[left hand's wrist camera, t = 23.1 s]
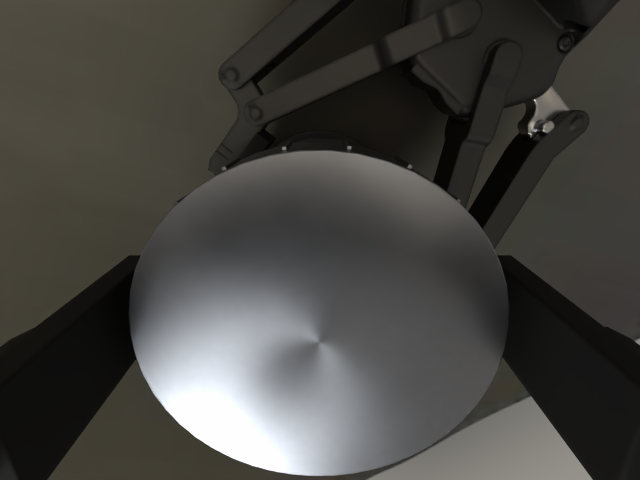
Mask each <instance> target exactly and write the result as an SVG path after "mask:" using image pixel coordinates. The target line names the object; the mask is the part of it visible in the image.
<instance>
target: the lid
mask: <svg viewBox="0 0 640 480" xmlns="http://www.w3.org/2000/svg"><path fill="white" fill-rule="evenodd" d="M222 170H223V171H222V172H220V173H218V174H217V175H215V176H214V177H212V178H211V179H209V180H208V181H206V182H204V183H203V184H201V185H200V186H198V187H197V188H195V189H194V190H192V191H191V192H190V193H189V194H188V195H186V196H184V197H183V198H181V199H180V200H178V201H177V202H176V203H175V204H174V205H175V206H174V207H173V208H172V209H171V210H170V212H169V213H168V214H167V215H166V216H165V218H164V219H163V220H162V221H161V222H160V223H159V225H158V226H157V227H156V229H155V230H154V232H153V234H152V235H151V237H150V239H149V240H148V242H147V244H146V245H145V247H144V249H143V251H142V254H141V256H140V259H139V261H138V264H137V266H136V268H135V272H134V277H133V281H132V285H131V289H130V299H129V312H128V315H129V327H130V336H131V341H132V345H133V349H134V353H135V357H136V359H137V362H138V364H139V367H140V369H141V372H142V374H143V376H144V378H145V380H146V382H147V383H148V385H149V387H150V389H151V390H152V392H153V394H154V395H155V396H156V398H157V399H158V400H159V402H160V403H161V404H162V406H163V407H164V408H165V410H166V411H167V412H168V413H169V414H170V415H171V416H172V417H173V418H174V419H175V420H176V421H177V422H178V423H179V424H180V425H181V426H183V427H184V428H185V429H186V430H187V431H189V432H190V433H191V434H192V435H194V436H195V437H196V438H198V439H199V440H201V441H202V442H204V443H205V444H207V445H208V446H210V447H212V448H213V449H215V450H217V451H219V452H221V453H223V454H225V455H227V456H229V457H231V458H233V459H236V460H239V461H241V462H244V463H246V464H249V465H252V466H256V467H259V468H263V469H266V470H270V471H275V472H281V473H287V474H294V475H307V476H334V475H343V474H352V473H358V472H363V471H367V470H372V469H376V468H379V467H382V466H386V465H389V464H392V463H395V462H397V461H400V460H402V459H404V458H407V457H409V456H412V455H414V454H415V453H417V452H419V451H421V450H423V449H425V448H426V447H428V446H430V445H432V444H433V443H435V442H436V441H437V440H439V439H440V438H442V437H443V436H445V435H446V434H447V433H449V432H450V431H451V430H452V429H453V428H454V427H455V426H457V425H458V424H459V423H460V422H461V421H462V420H463V419H464V418H465V417H466V416H467V415H468V414H469V413H470V412H471V410H472V409H473V408H474V407H475V406H476V405H477V403H478V402H479V401H480V399H481V398H482V396H483V395H484V393H485V392H486V390H487V389H488V388H489V386H490V384H491V382H492V380H493V378H494V376H495V374H496V372H497V370H498V368H499V365H500V362H501V359H502V356H503V353H504V350H505V346H506V340H507V335H508V330H509V300H508V292H507V284H506V281H505V277H504V274H503V270H502V267H501V263H500V261H499V259H498V257H497V254H496V252H495V250H494V248H493V246H492V244H491V242H490V240H489V238H488V237H487V236H486V234H485V233H484V231H483V230H482V228H481V227H480V225H479V224H478V222H477V221H476V220H475V219H474V217H473V216H472V215H471V214H470V213H469V212H468V211H467V210H466V209H465V208H464V207H463V206H462V205H461V203H460V202H461V201H460V200H459V199H458V198H457V197H455V196H453V195H452V194H450V193H449V192H447V191H446V190H444V189H443V188H441V187H440V186H439V185H437V184H436V183H434V182H432V181H431V180H429V179H428V178H426V177H425V176H423V175H421V174H420V173H418V172H417V171H415V170H414V169H412V165H410V164H409V163H407V162H405V161H404V160H402V159H401V158H399V157H397V156H395V158H392V157H390V156H387V155H385V154H382V153H380V152H377V151H375V150H372V149H368V148H364V147H360V146H356V145H352V144H349V143H348V142H347V141H345V140H343V143H336V142H328V141H327V142H300V143H294V144H292V143H291V141H288V142H287V143H286V144H285V145H281V146H277V147H274V148H271V149H267V150H264V151H261V152H257V153H255V154H253V155H251V156H249V157H247V158H244V159H242V160H240V158H237V159H235V160H234V161H232V162H230V163H229V164H227V165H225V166H224V167H222Z"/></svg>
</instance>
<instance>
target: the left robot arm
mask: <svg viewBox="0 0 640 480" xmlns="http://www.w3.org/2000/svg"><path fill="white" fill-rule="evenodd" d="M497 257H498V259H499V261H500V263H501V267H502V270H503V274H504V277H505V281H506V284H507V292H508V300H509V330H508V335H507V340H506V346H505V350H504V353H503V356H502V357H503V358H504V360H505V361H506V362H507V364H508V365H509V366H510V368H511V369H512V371H513V372H514V373H515V375H516V376H517V377H518V379H519V380H520V381H521V383H522V384H523V385H524V387H525V388H526V390H527V391H528V392H529V394H530V395H531V396H532V398H533V399H534V400H535V402H536V403H537V404H538V406H539V407H540V408H541V410H542V411H543V413H544V414H545V415H546V417H547V418H548V419H549V421H550V422H551V423H552V425H553V426H554V427H555V429H556V430H557V432H558V433H559V434H560V436H561V437H562V438H563V440H564V441H565V442H566V444H567V445H568V446H569V448H570V449H571V451H572V452H573V453H574V455H575V456H576V457H577V459H578V460H579V461H580V463H581V464H582V465H583V467H584V468H585V469H586V471H587V472H588V474H589V475H590V476H591V478H592V479H593V480H640V345H639V344H637V343H636V342H634V341H633V340H632V339H630V338H629V337H626V336H624V335H622V334H620V333H618V332H616V331H614V330H612V329H610V328H608V327H603V326H602V325H601V324H600V323H598V322H597V321H596V320H594V319H593V318H592V317H590V316H589V315H588V314H587V313H585V312H584V311H583V310H581V309H580V308H579V307H577V306H576V305H575V304H573V303H572V302H571V301H570V300H568V299H567V298H566V297H564V296H563V295H562V294H560V293H559V292H558V291H556V290H555V289H554V288H553V287H551V286H550V285H549V284H547V283H546V282H545V281H543V280H542V279H541V278H540V277H538V276H537V275H536V274H534V273H533V272H532V271H530V270H529V269H528V268H526V267H525V266H524V265H523V264H521V263H520V262H519V261H517V260H516V259H515V258H513V257H512V256H497ZM139 259H140V256H128V257H127V258H125V259H124V260H123V261H121V262H120V263H119V264H117V265H116V266H115V267H114V268H112V269H111V270H110V271H108V272H107V273H106V274H104V275H103V276H102V277H100V278H99V279H98V280H97V281H95V282H94V283H93V284H91V285H90V286H89V287H87V288H86V289H85V290H84V291H82V292H81V293H80V294H78V295H77V296H76V297H74V298H73V299H72V300H70V301H69V302H68V303H67V304H65V305H64V306H63V307H61V308H60V309H59V310H57V311H56V312H55V313H53V314H52V315H51V316H50V317H48V318H47V319H46V320H44V321H43V322H42V323H40V324H39V325H38V326H37V327H35V328H33V329H31V330H29V331H27V332H25V333H23V334H21V335H19V336H17V337H15V338H13V339H11V340H9V341H8V342H6V343H5V344H4V345H2V346H1V347H0V480H47V479H48V478H49V476H50V475H51V474H52V472H53V471H54V470H55V468H56V467H57V465H58V464H59V463H60V461H61V460H62V459H63V457H64V456H65V455H66V453H67V452H68V451H69V449H70V448H71V446H72V445H73V444H74V442H75V441H76V440H77V438H78V437H79V436H80V434H81V433H82V432H83V430H84V429H85V427H86V426H87V425H88V423H89V422H90V421H91V419H92V418H93V417H94V415H95V414H96V413H97V411H98V410H99V408H100V407H101V406H102V404H103V403H104V402H105V400H106V399H107V398H108V396H109V395H110V394H111V392H112V391H113V390H114V388H115V387H116V385H117V384H118V383H119V381H120V380H121V379H122V377H123V376H124V375H125V373H126V372H127V371H128V369H129V368H130V366H131V365H132V364H133V362H134V361H135V360H136V357H135V353H134V349H133V345H132V341H131V336H130V327H129V315H128V312H129V299H130V289H131V285H132V281H133V277H134V272H135V268H136V266H137V264H138V261H139Z"/></svg>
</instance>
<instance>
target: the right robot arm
mask: <svg viewBox="0 0 640 480" xmlns="http://www.w3.org/2000/svg"><path fill="white" fill-rule="evenodd" d="M353 1H354V0H294V1H293V2H292V3H290V4H289V5H288V6H287V7H286V8H285V9H284V10H283V11H281V12H280V13H279V14H278V15H277V16H276V17H275V18H274V19H272V20H271V21H270V22H269V23H268V24H267V25H266V26H265V27H263V28H262V29H261V30H260V31H259V32H258V33H257V34H256V35H254V36H253V37H252V38H251V39H250V40H249V41H248V42H247V43H245V44H244V45H243V46H242V47H241V48H240V49H239V50H238V51H236V52H235V53H234V54H233V55H232V56H231V57H230V58H229V59H228V60H226V61H225V62H224V63H223V64H222V65H221V67H220V69H219V73H218V74H219V79H220V81H221V83H222V85H224V86H225V87H226V88H227V89H228V91H229V92H230V94H231V95H232V97H233V99H234V100H235V102H236V104H237V106H238V118H237V120H236V122H235V123H234V125H233V126H232V128H231V129H230V131H229V132H228V134H227V135H226V137H225V138H224V140H223V141H222V143H221V144H220V145H219V147H218V148H217V150H216V151H215V153H214V154H213V156H212V157H211V159H210V162H209V168H208V170H209V171H211V172H212V173H214V174H215V175H217V174H218V173H220V172H222V171H223V170H222V167H224V166H225V165H227V164H229V163H230V162H232V161H234V160H235V159H237V158H240V160H242V159H244V158H247V157H249V156H251V155H253V154H255V153H257V152H261V151H264V150H267V149H269V147H270V146H271V144H272V143H273V142H274V140H275V139H276V138H275V137H273V136H272V135H271V134H270V133H268V132H267V131H266V130H265V128H266V127H267V125H268V124H269V123H271V122H273V121H275V120H277V119H279V118H282V117H284V116H286V115H288V114H290V113H292V112H295V111H297V110H299V109H301V108H303V107H306V106H308V105H310V104H312V103H314V102H317V101H319V100H321V99H323V98H325V97H327V96H330V95H332V94H334V93H336V92H338V91H341V90H343V89H345V88H347V87H349V86H352V85H354V84H356V83H358V82H360V81H363V80H365V79H367V78H369V77H371V76H373V75H376V74H378V73H380V72H383V71H385V70H387V69H389V68H391V67H394V66H396V65H398V64H400V67H401V69H402V71H403V73H402V74H401V75H402V76H403V77H405V78H406V79H407V80H408V81H409V82H410V83H411V84H412V85H414V86H416V87H418V88H420V89H422V90H424V91H426V92H427V94H428V96H429V97H430V99H431V101H432V102H433V104H434V105H435V106H436V107H437V108H438V109H439V110H440V111H441V112H442V113H443V114H449V118H448V121H447V125H446V128H445V143H444V146H443V150H442V153H441V157H440V160H439V164H438V167H437V171H436V174H435V177H434V181H433V182H434V183H436V184H437V185H439V186H440V187H441V188H443V189H444V190H446V191H447V192H449V193H450V194H452V195H453V196H455V197H457V198H458V199H459V200H460V201H461V202H460V203H461V205H462V206H463V207H464V208H466V205H467V202H468V199H469V196H470V193H471V190H472V187H473V184H474V181H475V178H476V175H477V172H478V169H479V165H480V162H481V159H482V156H483V153H484V150H485V148H486V146H487V145H489V144H490V143H491V141H492V140H493V137H494V135H495V132H496V129H497V126H498V123H499V120H500V117H501V114H502V111H503V108H507V107H510V106H514V105H518V104H521V103H525V104H526V112H525V115H524V117H523V118H522V120H521V121H520V122H519V123H518V125H517V128H518V130H519V132H520V133H519V134H518V135H517V136H516V137H515V138H514V139H513V140H512V142H511V143H510V144H509V145H508V147H507V148H506V150H505V151H504V153H503V155H502V156H501V158H500V160H499V161H498V163H497V165H496V166H495V168H494V169H493V171H492V173H491V174H490V176H489V178H488V179H487V181H486V183H485V184H484V186H483V188H482V189H481V191H480V193H479V194H478V196H477V198H476V199H475V201H474V203H473V204H472V206H471V208H470V209H469V211H468V212H469V213H470V214H471V215H472V216H473V217H474V219H475V220H476V221H477V222H478V224H479V225H480V227H481V228H482V230H483V231H484V233H485V234H486V236H487V237H488V238H489V240H490V242H491V244H492V246H493V248H494V249H495V247H496V246H497V244H498V243H499V241H500V240H501V238H502V237H503V235H504V234H505V232H506V230H507V229H508V227H509V226H510V224H511V223H512V221H513V220H514V218H515V217H516V215H517V214H518V212H519V211H520V209H521V207H522V206H523V204H524V203H525V201H526V200H527V198H528V197H529V195H530V194H531V192H532V191H533V189H534V188H535V186H536V184H537V183H538V181H539V180H540V178H541V177H542V175H543V174H544V172H545V171H546V169H547V168H548V166H549V165H550V163H551V161H552V160H553V158H554V157H556V156H557V155H558V154H559V153H560V152H561V151H563V150H564V149H565V148H566V147H567V146H568V145H569V144H571V143H572V142H573V141H574V140H575V139H576V138H578V137H579V136H580V135H581V134H582V133H583V132H584V131H585V130H586V129H587V127H588V125H589V116H588V114H587V113H586V112H584V111H581V110H569V109H568V107H567V106H566V105H565V103H564V102H563V101H562V99H561V98H560V97H559V95H558V94H557V93H556V91H555V90H554V89H553V87H552V84H553V82H554V80H555V77H556V74H557V71H558V69H559V67H560V65H561V63H562V61H563V60H564V58H565V57H566V55H567V54H568V53H569V52H570V51H571V50H572V49H573V48H574V47H575V46H576V45H578V44H579V43H580V42H581V41H582V40H583V39H584V38H585V37H586V36H587V35H588V34H589V33H590V32H591V31H592V30H593V28H594V27H595V26H596V25H597V24H598V23H599V22H600V21H601V20H602V19H603V18H604V17H605V15H606V14H607V13H608V12H609V11H610V10H611V9H612V8H613V7H614V6H615V5H616V4H617V2H618V1H619V0H404V3H403V13H402V22H401V29H399V30H397V31H394V32H392V33H390V34H388V35H386V36H384V37H382V38H380V39H379V40H377V41H375V42H374V43H372V44H370V45H367V46H365V47H363V48H361V49H359V50H357V51H355V52H352V53H350V54H348V55H346V56H344V57H342V58H340V59H338V60H335V61H333V62H331V63H329V64H327V65H325V66H323V67H321V68H318V69H316V70H314V71H312V72H310V73H308V74H306V75H304V76H301V77H299V78H297V79H295V80H293V81H291V82H289V83H287V84H284V85H282V86H280V87H278V88H276V89H274V90H272V91H270V92H267V93H265V94H263V92H262V91H261V89H260V87H259V86H258V84H257V83H258V82H259V81H260V80H262V79H263V78H264V77H265V76H266V75H267V74H269V73H270V72H271V71H272V70H273V69H275V68H276V67H277V66H278V65H279V64H280V63H282V62H283V61H284V60H285V59H286V58H287V57H289V56H290V55H291V54H292V53H293V52H294V51H296V50H297V49H298V48H299V47H300V46H302V45H303V44H304V43H305V42H306V41H307V40H309V39H310V38H311V37H312V36H313V35H314V34H316V33H317V32H318V31H319V30H320V29H321V28H323V27H324V26H325V25H326V24H327V23H328V22H330V21H331V20H332V19H333V18H334V17H336V16H337V15H338V14H339V13H340V12H341V11H343V10H344V9H345V8H346V7H347V6H348V5H350V4H351V3H352V2H353Z"/></svg>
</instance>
